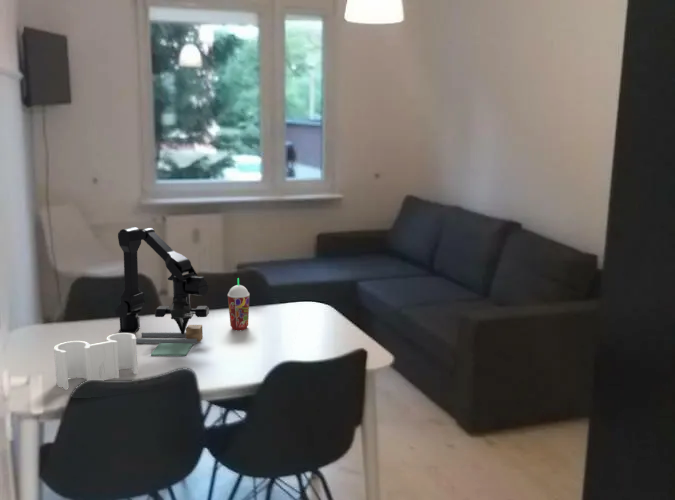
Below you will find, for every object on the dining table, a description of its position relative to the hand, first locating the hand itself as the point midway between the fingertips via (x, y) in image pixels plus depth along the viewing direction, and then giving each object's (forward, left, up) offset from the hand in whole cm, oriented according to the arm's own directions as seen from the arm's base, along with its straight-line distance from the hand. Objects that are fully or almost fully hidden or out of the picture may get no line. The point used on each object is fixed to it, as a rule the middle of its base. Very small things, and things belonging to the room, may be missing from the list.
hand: (183, 334), depth 273 cm
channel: (-5, 0, -2) cm, 6 cm away
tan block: (+4, 0, -2) cm, 5 cm away
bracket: (-19, -39, -3) cm, 43 cm away
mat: (-1, -12, -2) cm, 12 cm away
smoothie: (+19, +14, -2) cm, 24 cm away
